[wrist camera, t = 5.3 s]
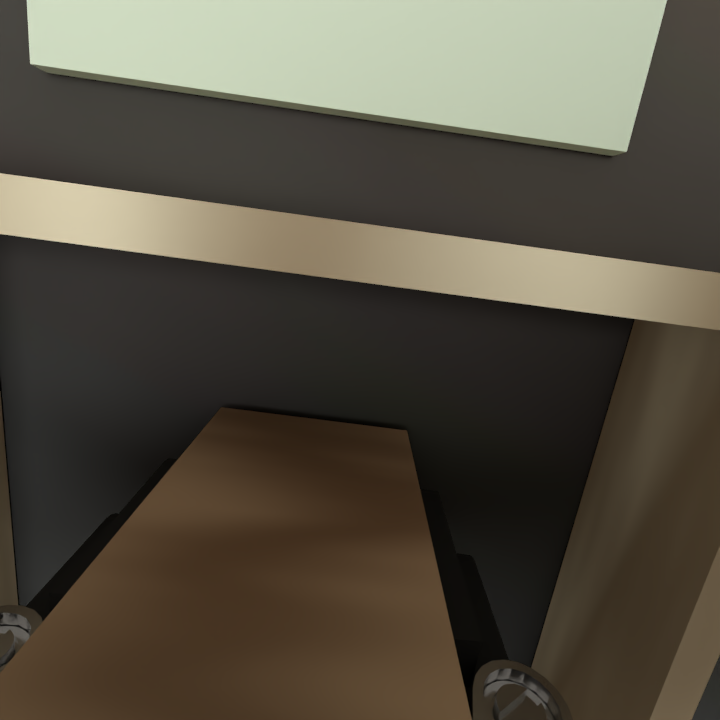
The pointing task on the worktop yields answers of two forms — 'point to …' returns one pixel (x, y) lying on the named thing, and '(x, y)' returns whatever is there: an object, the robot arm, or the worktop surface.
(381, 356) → the worktop surface
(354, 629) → the walnut block
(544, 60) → the mat
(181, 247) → the access box
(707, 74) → the worktop surface
